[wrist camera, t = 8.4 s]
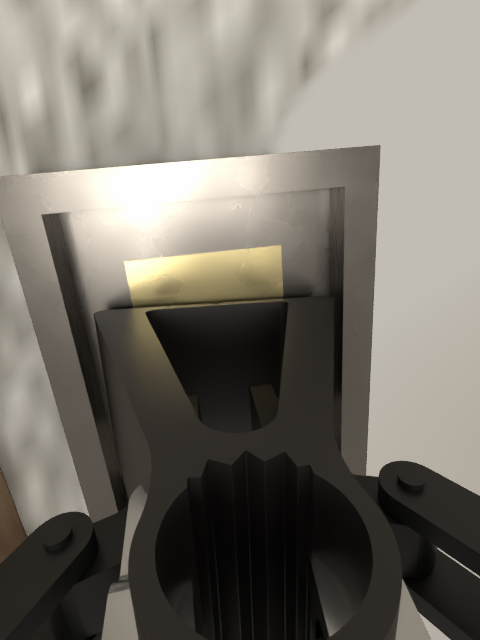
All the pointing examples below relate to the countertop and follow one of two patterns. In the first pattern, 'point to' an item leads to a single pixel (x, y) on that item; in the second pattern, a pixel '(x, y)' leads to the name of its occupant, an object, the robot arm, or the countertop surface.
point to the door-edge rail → (8, 523)
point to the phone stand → (240, 472)
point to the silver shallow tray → (192, 270)
